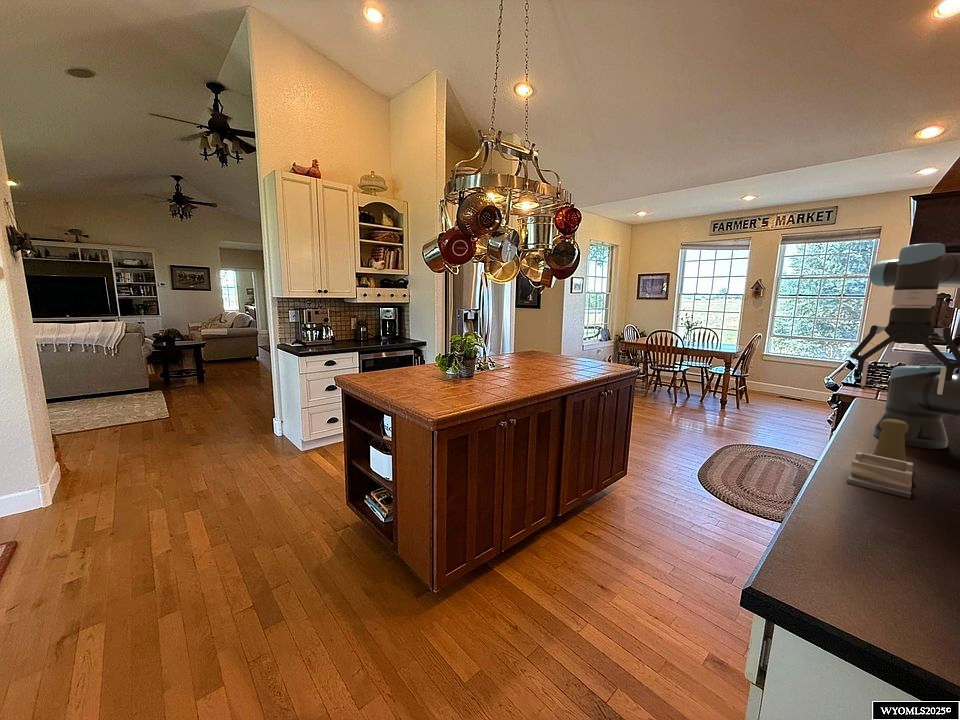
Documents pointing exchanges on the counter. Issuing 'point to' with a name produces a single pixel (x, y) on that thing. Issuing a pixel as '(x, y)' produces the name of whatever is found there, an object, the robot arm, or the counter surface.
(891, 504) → the counter surface
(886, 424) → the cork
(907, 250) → the robot arm
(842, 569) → the counter surface
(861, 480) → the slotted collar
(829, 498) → the counter surface
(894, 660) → the counter surface
